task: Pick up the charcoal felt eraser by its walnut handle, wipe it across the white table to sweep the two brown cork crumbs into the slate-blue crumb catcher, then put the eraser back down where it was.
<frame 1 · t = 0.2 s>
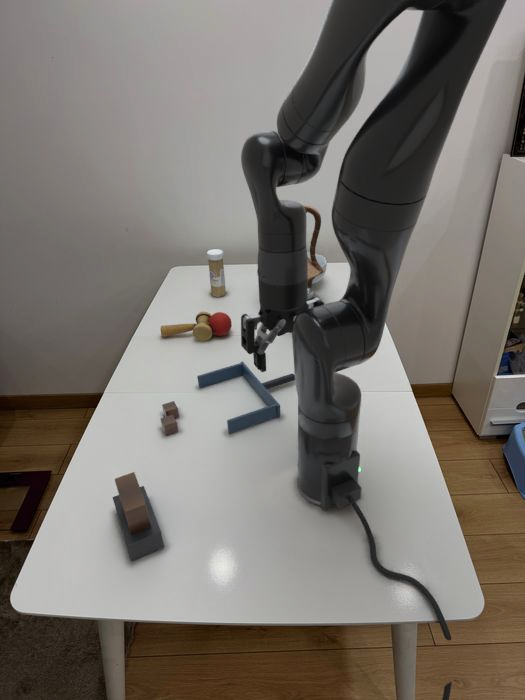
hand: (284, 362, 82), 17 cm above the table, tool pointing down, fingers open, 8 cm apart
catcher: (236, 401, 101), on the table
eraser: (139, 528, 75), on the table
kendama: (197, 336, 125), on the table
soda can: (303, 334, 124), on the table
pitcher: (291, 303, 139), on the table
crumb b: (171, 415, 98), on the table
crumb a: (170, 429, 95), on the table
sprinkles bottle: (218, 294, 146), on the table
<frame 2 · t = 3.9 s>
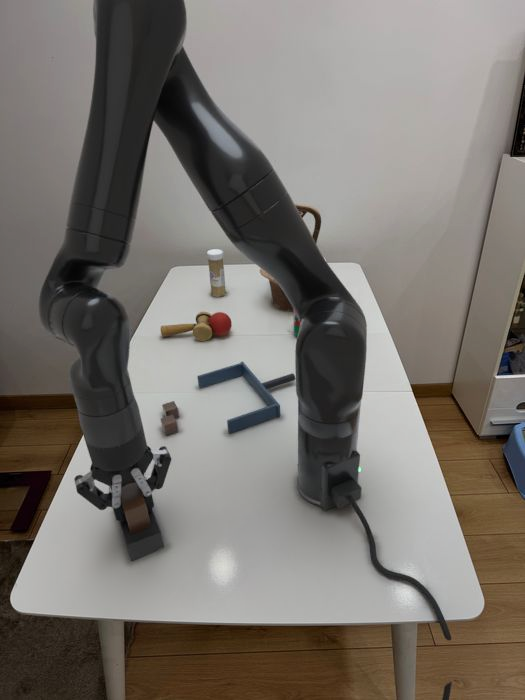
hand: (135, 513, 73), 4 cm above the table, tool pointing down, fingers closed on eraser, 3 cm apart
eraser: (139, 528, 75), on the table, touching gripper
everything else where it was.
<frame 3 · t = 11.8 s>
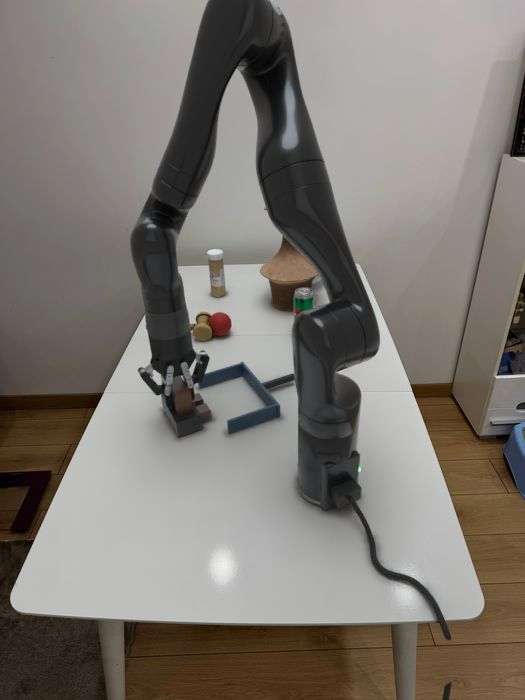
hand: (180, 403, 95), 4 cm above the table, tool pointing down, fingers closed on eraser, 3 cm apart
eraser: (182, 418, 97), on the table, touching crumb a, gripper
crumb b: (196, 407, 100), on the table
crumb a: (203, 418, 97), on the table, touching eraser
everything else where it was.
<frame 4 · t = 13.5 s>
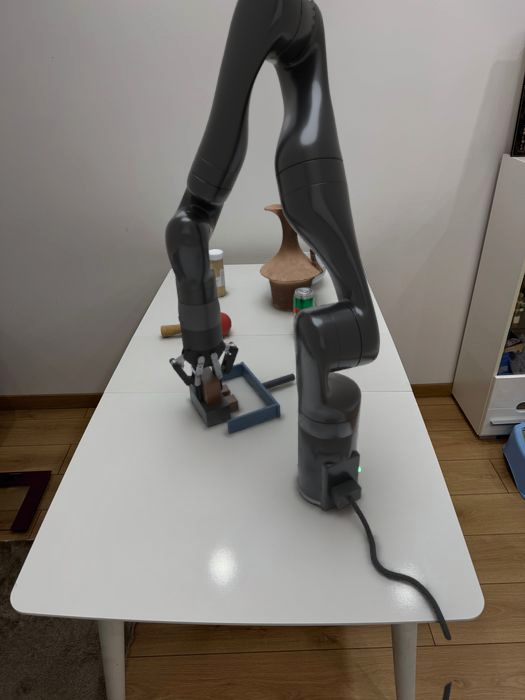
hand: (208, 394, 97), 4 cm above the table, tool pointing down, fingers closed on eraser, 3 cm apart
eraser: (210, 408, 99), on the table, touching crumb a, crumb b, gripper
crumb b: (223, 398, 102), on the table, touching eraser
crumb a: (230, 408, 99), on the table, touching eraser
everything else where it was.
when the fingers open (4 cm above the table, at t = 20.2 s): eraser stays where it is, on the table.
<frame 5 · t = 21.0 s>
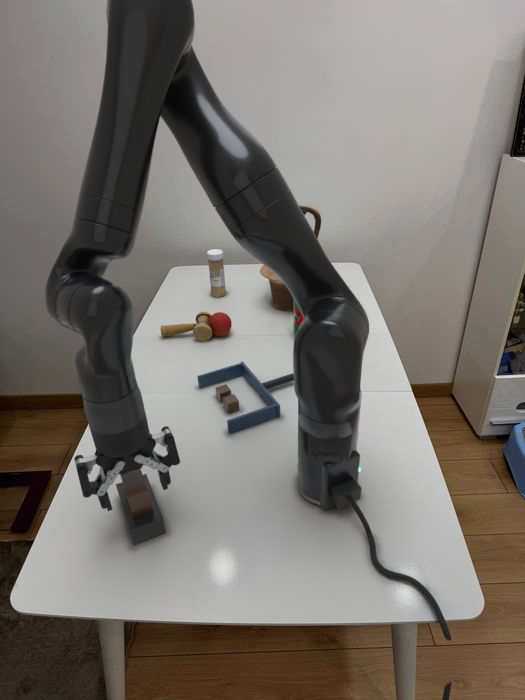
hand: (137, 495, 74), 5 cm above the table, tool pointing down, fingers open, 8 cm apart
eraser: (142, 515, 77), on the table
crumb b: (224, 398, 102), on the table
crumb a: (231, 408, 99), on the table
everything else where it was.
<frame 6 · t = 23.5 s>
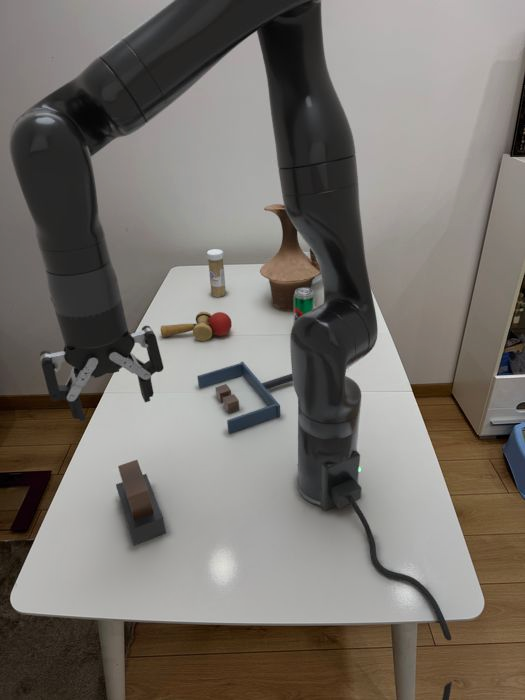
hand: (115, 408, 65), 22 cm above the table, tool pointing down, fingers open, 8 cm apart
nothing on the table moved.
at the end: crumb a inside the target area on the catcher (2.4 cm from its centre), point 0.0 cm above the catcher's base; crumb b inside the target area on the catcher (2.9 cm from its centre), point 0.0 cm above the catcher's base; eraser inside the target area (0.4 cm from its centre), on the table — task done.
